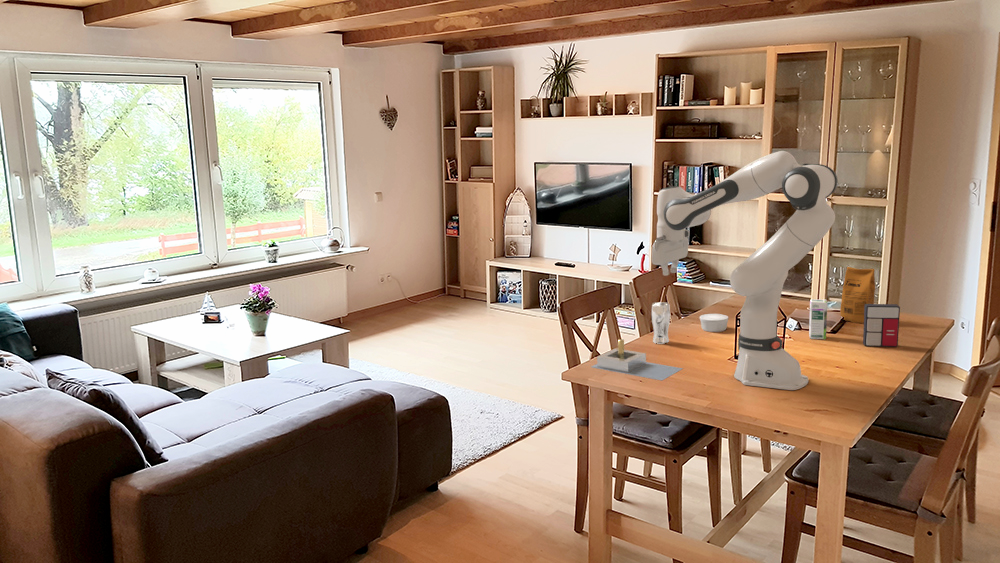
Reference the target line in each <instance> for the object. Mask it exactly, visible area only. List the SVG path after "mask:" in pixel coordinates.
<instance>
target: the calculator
mask: <svg viewBox="0 0 1000 563" xmlns="http://www.w3.org/2000/svg"><path fill="white" fill-rule="evenodd" d="M900 311H901V307H900V306H899V305H898V304H896V303H895V304H892V303H874V304H865V306H864V323H863V331H862V332H863V335H862V336H863V337H862V344H863V345H864V347H879V348H880V347H882V348H883V347H885V348H886V347H887V348H889V347H890V348H897V347H898V345H899V330H900Z"/></svg>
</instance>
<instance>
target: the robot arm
mask: <svg viewBox="0 0 1000 563" xmlns="http://www.w3.org/2000/svg"><path fill="white" fill-rule="evenodd" d="M837 186H838V175H837V173H836V172H835V170H834V169H832V168H831V167H829V166H827V165H825V164H821V163H803V164H802V165H801V164H799V163H798V162H797V159H796V158H795V156H793V154H791V153H790V152H789V151H785V150H779V151H776V152H772V153H769V154H767V155H765V156H761V157H760V158H757V159H755V160H753V161H751V162H750V163H747V164H746V165H745V166H742V167H741V168H740V169H738V170H737V171H734V173H732V174H731V175H729V176H727V177H726V178H724V179H723V180H722V181H720V182H719V183H717V184H715V185H713V186H711V187H709V188H706V189H705V190H703V191H701V192H699V193H696V194H692V193H690V192H688V191H686V190H684V188H683V187H682V186H678V185H677V186H671V187H665V188H662V189H659V191H658V195H657V198H656V200H657V201H656V215H657V223H656V239H655V241H654V242H653V244H652V247H651V248H652V249H651V264H652V265H656V266H660V268H661V271H662V276H664V277H665V276H666V277H667V276H669V275H670V274H675V273H677V270H678V265H679V262H680V261H679V260H681V259H684V258H686V257H687V256H688V254H689V237H690V230H688V228H692V227H695V226H701V225H702V224H705V223H706V222H707V221H709V219H710V217H711V213H712V210H713V209H715V208H717V207H720V206H723V205H727V204H732V203H739V202H746V201H752V200H756V199H758V198H761V197H764V196H767V195H770V194H771V193H773V192H775V191H777V190H780V189H781V190H782V193H783V195H784V196H785V198H786V199H787V201H788V202H789V203H790V204H791V207H792V208H793V209H794V210H795V211H794V213H793V214H792V215H791V216H790V217H789V218H788V219H787V220H786V222H785V223H783V224H782V226H781V227H780V228H778V229H777V231H776V232H775V233H774V234H773V235H772V236H771V237H770V238H769V239H768V240H767V241H765V243H763V244H762V245H761V246H760V247H758V248H757V249H756V250H755V251H754V252H753V253H751V254H750V255H749V256H748V257H747V258H746V259H745V260H744V261H742V263H740V264H739V265H738V266H736V267H735V268H734V269H733V271H731V274H730V275H729V276H730V277H729V284H730V287H731V288H732V290H733V291H734V293H735V294H737V295H739V296H741V297H745V300H744V303H743V306H742V307H741V310H740V319H739V320H740V321H739V325H740V326H739V333H738V340H737V346H738V347H737V348H738V358H737V363H736V367H735V370H734V371H735V372H734V374H733V377H734V379H736V380H737V381H740V382H741V384H743V385H745V386H753V387H759V388H761V387H762V388H767V389H768V388H770V389H779V390H786V391H787V390H788V391H795V390H799V389H802V388H804V387H806V386H807V385H808V383H809V377H808V376H807V375H805V374H802V368H801V365H800V362H799V360H797V359H796V358H795V357H794V356H793V355H791V354H790V353H789V352H788V351H786V350H785V348H783V343H784V340H785V339H784V337H783V338H780V337H779V336H778V334H777V330H778V329H777V325H778V309H779V306H780V301H781V297H782V292H783V288H784V284H785V281H786V279H788V275H789V270H790V269H792V268H793V267H794V266H796V265H798V264H799V263H800V261H801V260H803V259H804V257H806V256H807V255H808V254H809V253H810V252H811V251H812V250H813V248H815V247H816V246H817V245H818V244H819V242H821V240H822V239H823V238H824V237H825V236H826V235H827V234H828V233H829V231H830V230H831V228H832V226H833V225H834V224H835V220H836V214H835V212H834V211H835V210H833V208H832V206H830V205H829V204H828V201H827V198H828V197H830V196H832V194H833V193H834V192H835V191H836V189H837ZM669 263H671V266H670V268H669V267H668V266H669Z"/></svg>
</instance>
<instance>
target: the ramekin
mask: <svg viewBox="0 0 1000 563" xmlns="http://www.w3.org/2000/svg"><path fill="white" fill-rule="evenodd" d="M699 320H700V327H701V329H702V330H703V331H705V332H709V333H710V332H711V333H720V332H724V331H725V330H726V329H727V327H728V322H729V316H728V315H725V314H721V313H705V314H701V315H700V316H699Z"/></svg>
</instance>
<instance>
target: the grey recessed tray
mask: <svg viewBox="0 0 1000 563" xmlns="http://www.w3.org/2000/svg"><path fill="white" fill-rule="evenodd" d="M596 359H597V360H596V362H597V363H596V364H597V367H601V368H606V369H611V370H617V371H622V372H627V373H629V372H631V371H632V370H634V369H636V368H638V367H640V366H642V365H644V364H646V362H647V353H646V352H639V351H633V350H628V349H627V350H626V349H624V359H620V358H618V348H613V349H610V350H609V351H606V352H605V353H602V354H601V355H598V356H597V357H596Z"/></svg>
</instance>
